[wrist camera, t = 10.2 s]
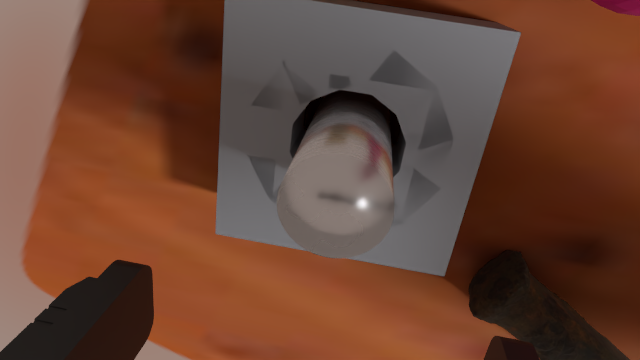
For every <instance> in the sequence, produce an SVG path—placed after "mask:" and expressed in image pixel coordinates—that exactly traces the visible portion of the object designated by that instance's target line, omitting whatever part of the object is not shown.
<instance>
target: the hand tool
mask: <svg viewBox="0 0 640 360" xmlns="http://www.w3.org/2000/svg"><path fill="white" fill-rule="evenodd" d="M469 295H470V301H469V307H470V311H471V312H472V314H473V316H474V317H477V318H479V319H480V320H484V321H486V322H489V323H496V324H497V325H499V326H501V327H503V328H505V329H506V330H507V331H508V332H510V333H511V334H512V335H513V336H515V337H516V338H517V339H518V340H520V341H525V342H530V343H532V344H533V346H534V347H535V349H536V352H537V355H538V357H539V358H540V360H630V359H629V358H627V357H626V356H625V355H624V354H623V353H622V352H621V351H619V350H618V349H617V348H616V347H615V346H614V345H613V344H612V343H611V342H610V341H609V340H608V339H607V338H605V337H604V336H602V335H601V334H599V333H598V332H597V331H596V330H595V329H594V328H593V327H592V326H590V325H589V324H588V323H587V322H586V321H585V319H584V318H583V317H581V316H580V315H579V314H578V313H577V312H576V311H575V310H574V309H573V308H572V307H571V306H570V305H569V304H568V303H567V302H566V301H564V300H562V299H560V298H559V297H558V296H557V295H556V294H554V293H553V292H551V291H549V290H548V289H547V288H546V287H545V286H544V285H543V284H541V283H540V282H539V281H538V280H537V279H536V278H535V277H534V276H533V275H532V274H530V273H529V269H528V267H527V264H526V262H525V260H524V259H523V258H522V254H521V252H518V251H510V250H506V251H504V252H503V253H502V254H500V255H499V256H498V257H497V258H495V259H493V260H491V261H490V262H488V263H487V264H486V265H485V266H484V267H483V268H482V269H480V270H479V271H478V273H477V274H476V275H475V276H474V277H473V279H472V281H471V283H470V285H469Z"/></svg>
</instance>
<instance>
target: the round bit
mask: <svg viewBox="0 0 640 360" xmlns="http://www.w3.org/2000/svg"><path fill="white" fill-rule="evenodd" d="M277 212H278V216H279V219H280V222H281V224H282V226H283V228H284V230H285V231H286V232H287V234H288V235H289V236H290V237H291V238H292V239H293V240H294V241H295V242H296V243H297V244H298V245H299V246H301V247H302V248H304V249H306V250H308V251H310V252H312V253H314V254H317V255H320V256H324V257H329V258H349V257H353V256H357V255H360V254H363V253H365V252H367V251H369V250H371V249H372V248H374V247H375V246H376V245H377V244H379V243H380V242H381V241H382V240H383V238H384V237H385V236H386V234H387V233H388V231H389V229H390V227H391V225H392V222H393V217H394V189H393V169H392V149H391V129H390V115H389V110H388V108H387V107H386V106H385V105H384V104H383V103H381V102H380V101H379V100H378V99H376V98H375V97H374V96H373V95H370V94H364V93H358V92H352V91H346V90H338V91H335V92H333V93H330V94H327V95H326V96H325V97H324V98H323V99H322V101H321V102H320V104H319V106H318V108H317V110H316V112H315V115H314V117H313V119H312V121H311V123H310V125H309V127H308V129H307V131H306V133H305V135H304V137H303V139H302V141H301V143H300V145H299V148H298V150H297V152H296V154H295V156H294V158H293V160H292V162H291V164H290V166H289V168H288V170H287V172H286V174H285V176H284V179H283V181H282V183H281V185H280V187H279V190H278V195H277Z"/></svg>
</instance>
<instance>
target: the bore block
mask: <svg viewBox="0 0 640 360" xmlns="http://www.w3.org/2000/svg"><path fill="white" fill-rule="evenodd" d="M520 34H521V32H518V31H516V30H514V29H511V28H509V27H507V26H504V25H502V24H500V23H497V22H491V21H484V20H477V19H471V18H464V17H458V16H451V15H445V14H438V13H432V12H425V11H419V10H412V9H405V8H399V7H392V6H386V5H379V4H373V3H366V2H360V1H353V0H225V4H224V30H223V56H222V82H221V107H220V133H219V159H218V185H217V210H216V234H219V235H224V236H230V237H235V238H240V239H246V240H251V241H256V242H262V243H267V244H272V245H278V246H283V247H289V248H294V249H299V250H305V251H308V250H306V249H304V248H302V247H301V246H299V245H298V244H297V243H296V242H295V241H294V240H293V239H292V238H291V237H290V236H289V235H288V234H287V232H286V231H285V230H284V228H283V226H282V224H281V222H280V219H279V216H278V212H277V195H278V190H279V187H280V185H281V183H282V181H283V179H284V176H285V174H286V172H287V170H288V168H289V166H290V164H291V162H292V160H293V158H294V156H295V154H296V152H297V150H298V148H299V145H300V143H301V141H302V139H303V137H304V135H305V133H306V131H305V129H304V126H303V123H304V115H305V108H306V106H307V105H308V104H309V103H310V101H311V100H314V99H317V98H319V97H322V96H325V95H327V94H330V93H333V92H335V91H338V90H346V91H352V92H358V93H364V94H370V95H373V96H374V97H375V98H376V99H378V100H379V101H380V102H381V103H383V104H384V105H385V106H386V107H387V108H389V109H390V110H391V111H392V112H394V113H395V114H396V115H397V118H398V121H399V124H400V131H399V136H398V140H397V142H396V144H395V145H394V146H393V147H392V148H391V149H392V169H393V189H394V217H393V222H392V225H391V227H390V229H389V231H388V233H387V234H386V236H385V237H384V238H383V240H382V241H381V242H380V243H379V244H377V245H376V246H375V247H374V248H372V249H371V250H369V251H367V252H365V253H363V254H360V255H357V256H353V257H349V258H348V259H353V260H358V261H364V262H369V263H374V264H380V265H385V266H391V267H396V268H401V269H407V270H412V271H417V272H423V273H428V274H433V275H439V276H445V273H446V269H447V266H448V263H449V260H450V257H451V254H452V250H453V247H454V244H455V241H456V238H457V234H458V231H459V228H460V225H461V222H462V219H463V215H464V212H465V209H466V206H467V203H468V199H469V196H470V193H471V190H472V187H473V184H474V180H475V177H476V174H477V171H478V168H479V165H480V161H481V158H482V155H483V152H484V149H485V145H486V142H487V139H488V136H489V133H490V130H491V126H492V123H493V120H494V117H495V114H496V111H497V107H498V104H499V101H500V98H501V95H502V91H503V88H504V85H505V82H506V79H507V76H508V72H509V69H510V66H511V63H512V60H513V56H514V53H515V50H516V47H517V44H518V41H519V37H520Z"/></svg>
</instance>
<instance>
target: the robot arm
mask: <svg viewBox="0 0 640 360" xmlns="http://www.w3.org/2000/svg"><path fill="white" fill-rule="evenodd" d="M153 319H154V307H153V280H152V269H151V267H150V266H148V265H143V264H138V263H133V262H128V261H123V260H116V261H114V262H113V263H112V264H111V265H110V266H109V267H108V268H107V269H106V270H105V271H104V272H103V273H102V274H101V275H100V276H99V277H98V278H93V277H88V278H86V279H84V280H82V281H80V282H78V283H76V284H74V285H73V286H71V287H69V288H67V289H66V290H64V291H63V292H62V293H61V294H60V295H59V296H58V297H57V298H56V299H55V300H54V301H53V302H52V303H51V304H50V305H49V308H48V309H45V310H44V311H43V312H42V313H41V314H40V315H39V316H37V317H36V318H35V321H34V323H30V324H29V325H28V326H27V327H26V328H25V329H24V330H23V331H22V332H21V333H20V334H19V335H18V336H17V337H16V338H15V339H13V341H11V342H10V343H9V344H8V345H7V346H6V347H5V348H4V349H3V350H2V351H1V352H0V360H134V359H135V357H136V355H137V354H138V353H139V351H140V350H141V348H142V347H143V345H144V344H145V342H146V340H147V339H148V336H149V334H150V331H151V328H152V324H153ZM484 360H539V357H538V355H537V352H536V349H535V347H534V346H533V344H532V343H530V342H525V341H520V340H515V339H510V338H505V337H500V336H495V337H493V339H492V340H491V342H490V345H489V347H488V350H487V352H486V355H485V358H484Z"/></svg>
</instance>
